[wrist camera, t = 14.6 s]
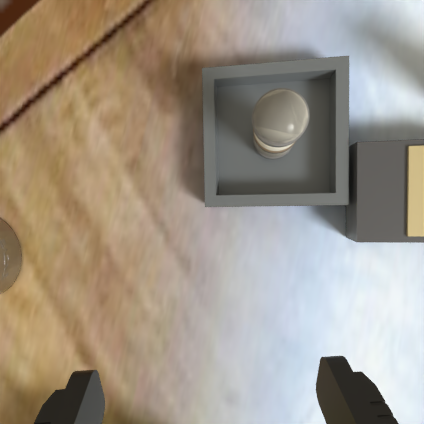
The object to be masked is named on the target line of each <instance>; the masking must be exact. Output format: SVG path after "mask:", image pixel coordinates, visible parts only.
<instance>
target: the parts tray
mask: <svg viewBox="0 0 424 424" xmlns="http://www.w3.org/2000/svg"><path fill="white" fill-rule="evenodd" d="M202 84H203V135H204V185H205V207H242V206H314V205H349V56H340V57H328V58H316V59H304V60H292V61H280V62H269V63H257V64H245V65H233V66H221V67H209V68H202ZM276 88H288V89H292V90H294V91H296V92H298V93H299V94H300V95H301V96H302V97H303V98H304V99H305V101H306V103H307V105H308V108H309V122H308V125H307V128H306V130H305V131H304V133H303V134H302V135H301V137H300V138H299V139H298V140H297V141H296V142H295V143H294V145H293V147H292V148H291V150H290V151H289V152H288V153H287V154H286V155H285V156H283V157H281V158H279V159H266V158H264V157H262V156H261V155H259V154H258V152H257V151H256V149H255V147H254V144H253V126H252V113H253V109H254V106H255V104H256V102H257V101H258V100H259V98H260V97H261V96H262V95H264V94H265V93H266V92H268V91H270V90H273V89H276Z"/></svg>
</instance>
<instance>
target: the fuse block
mask: <svg viewBox="0 0 424 424" xmlns="http://www.w3.org/2000/svg"><path fill="white" fill-rule="evenodd" d="M346 237H347V238H349V239H351V240H353V241H355V242H424V139H421V140H398V141H375V142H357V143H355V144H353V145H351V146H350V147H349V205H346Z"/></svg>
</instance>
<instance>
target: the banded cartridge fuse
mask: <svg viewBox="0 0 424 424" xmlns="http://www.w3.org/2000/svg"><path fill="white" fill-rule="evenodd" d="M308 122H309V108H308V105H307V103H306V101H305V99H304V98H303V97H302V96H301V95H300V94H299V93H298V92H296V91H294V90H292V89H288V88H276V89H273V90H270V91H268V92H266V93H265V94H264V95H262V96H261V97H260V98H259V100H258V101H257V102H256V104H255V106H254V109H253V113H252V126H253V144H254V147H255V149H256V151H257V152H258V154H259V155H261V156H262V157H264V158H266V159H279V158H281V157H283V156H285V155H286V154H287V153H288V152H289V151H290V150H291V148H292V147H293V145H294V143H295V142H296V141H297V140H298V139H299V138H300V137H301V135H302V134H303V133H304V131H305V130H306V128H307V125H308Z"/></svg>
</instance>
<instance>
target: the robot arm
mask: <svg viewBox="0 0 424 424" xmlns="http://www.w3.org/2000/svg"><path fill="white" fill-rule="evenodd" d="M21 256H22V255H21V249H20V245H19V242H18V239H17V237H16V235H15V233H14V232H13V230H12V229H11V228H10V227H9V225H8V224H7V223H5V222H4V221H3V220H2V219H0V294H1V293H3V292H5V291H6V290H7V289H9V288H10V287H11V286H12V284H13V283H14V282H15V280H16V278H17V276H18V274H19V271H20V267H21ZM316 393H317V398H318V402H319V405H320V408H321V410H322V413H323V415H324V418H325V421H326V423H327V424H398V422H397V420H396V419H395V418H394V417H393V414H392V412H391V410H390V409H389V407H388V405H387V404H386V403H385V400H384V398H383V397H382V395H381V393H380V392H379V390H378V388H377V387H376V385H375V384H374V383H373V382H372V381H371V380H370V379H369V378H368V377H367V376H366V375H365V374H364V373H362V372H353V371H352V369H351V367H350V365H349V363H348V361H347V360H346V358H345V357H343V356H331V357H321V359H320V365H319V371H318V377H317V383H316ZM104 409H105V398H104V394H103V390H102V386H101V382H100V378H99V374H98V371H97V370H86V371H74V372H73V373H72V375H71V377H70V379H69V381H68V384H67V386H66V388H65V389H62V390H55V392H54V393H53V394H52V395H51V396H50V397H49V399H48V400H47V401H46V402H45V403H44V404H43V406H42V408H41V410H40V412H39V414H38V416H37V418H36V420H35V422H34V424H101V423H102V420H103V416H104Z"/></svg>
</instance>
